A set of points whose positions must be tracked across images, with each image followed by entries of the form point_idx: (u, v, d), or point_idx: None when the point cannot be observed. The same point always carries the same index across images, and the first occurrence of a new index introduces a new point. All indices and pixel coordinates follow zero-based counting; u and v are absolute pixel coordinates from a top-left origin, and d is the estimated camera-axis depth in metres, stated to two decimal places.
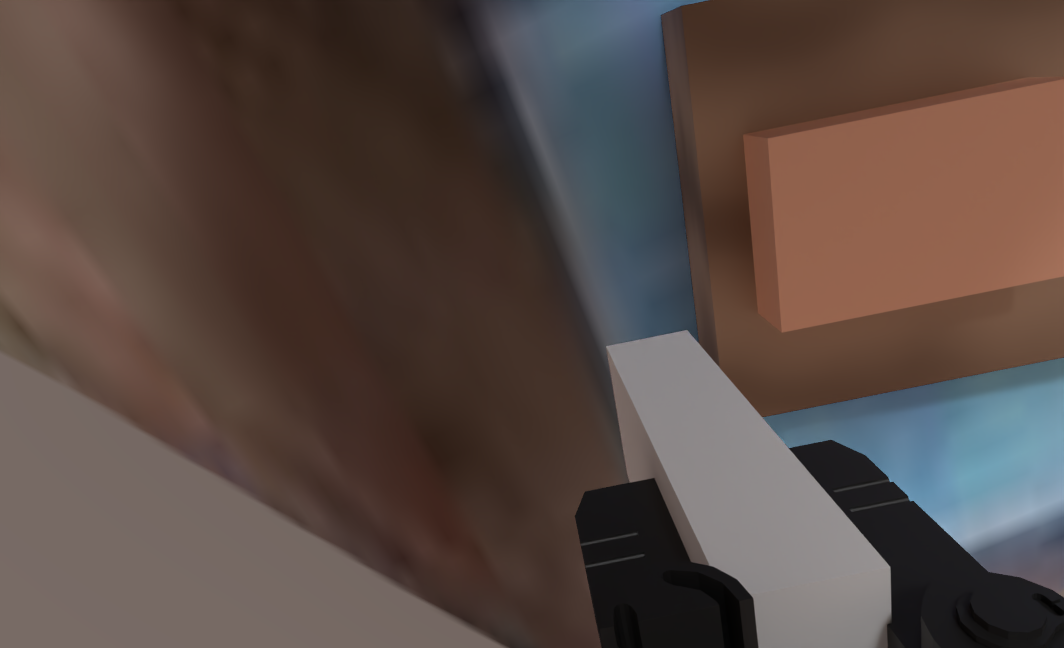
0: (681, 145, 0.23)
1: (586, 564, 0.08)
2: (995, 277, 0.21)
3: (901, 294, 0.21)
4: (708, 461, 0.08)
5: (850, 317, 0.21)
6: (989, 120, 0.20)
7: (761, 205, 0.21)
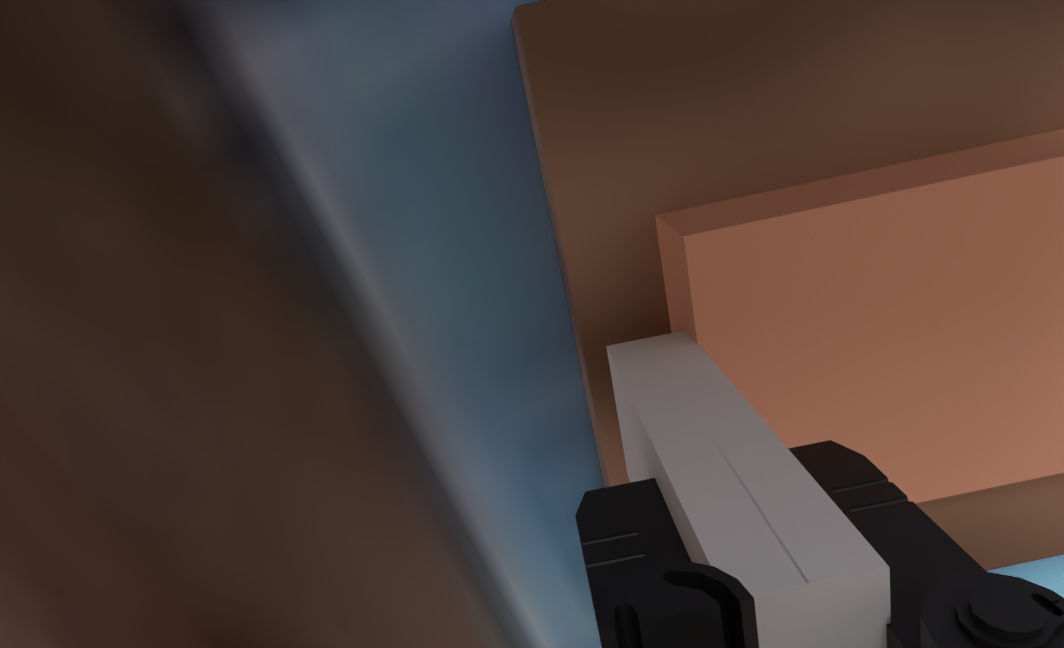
0: (554, 226, 0.15)
1: (586, 564, 0.08)
2: None
3: (921, 480, 0.13)
4: (708, 461, 0.08)
5: None
6: None
7: None
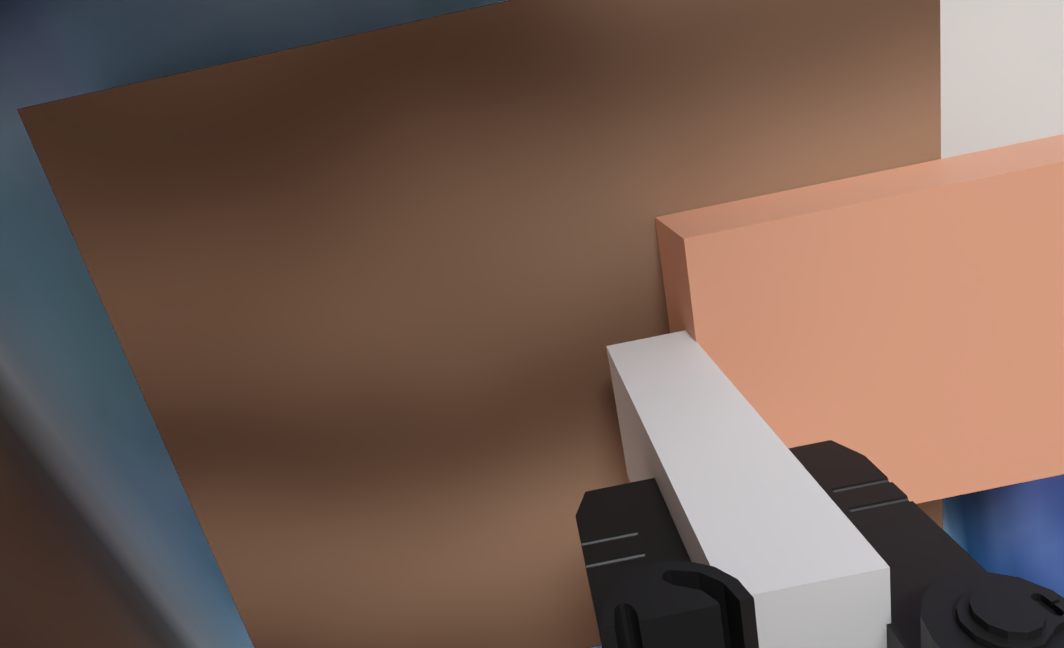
0: None
1: (586, 564, 0.08)
2: None
3: (917, 482, 0.13)
4: (708, 461, 0.08)
5: None
6: None
7: None
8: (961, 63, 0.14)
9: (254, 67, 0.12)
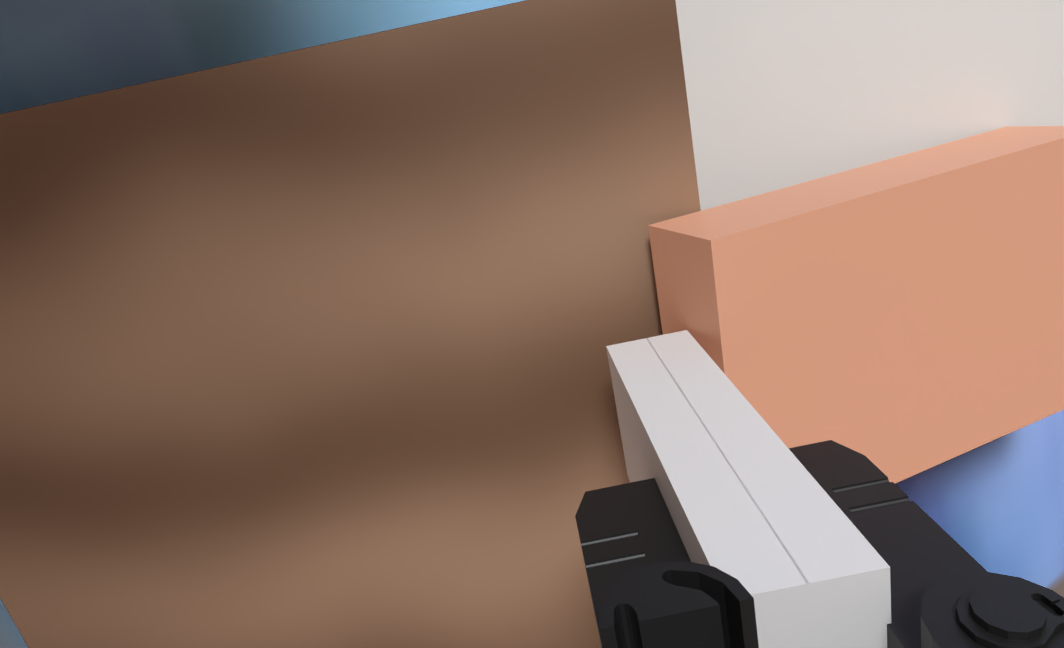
0: None
1: (586, 564, 0.08)
2: (1010, 415, 0.14)
3: (901, 460, 0.14)
4: (708, 461, 0.08)
5: None
6: (1007, 193, 0.13)
7: None
8: (748, 114, 0.15)
9: None
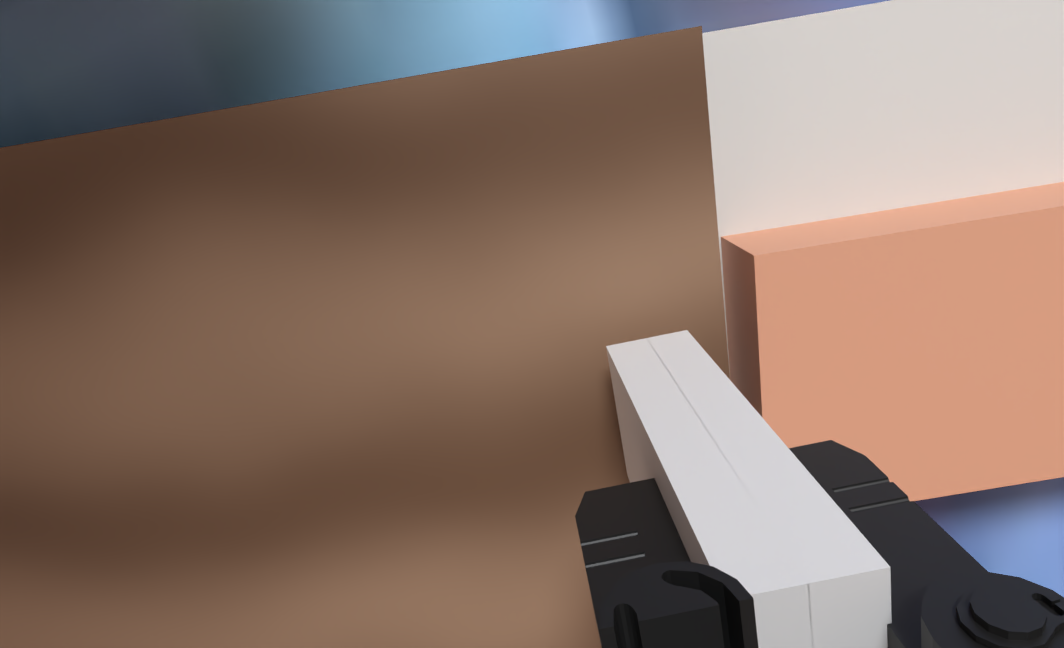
0: None
1: (586, 564, 0.08)
2: None
3: (942, 477, 0.15)
4: (708, 461, 0.08)
5: None
6: None
7: (743, 342, 0.14)
8: (770, 166, 0.14)
9: (6, 157, 0.11)
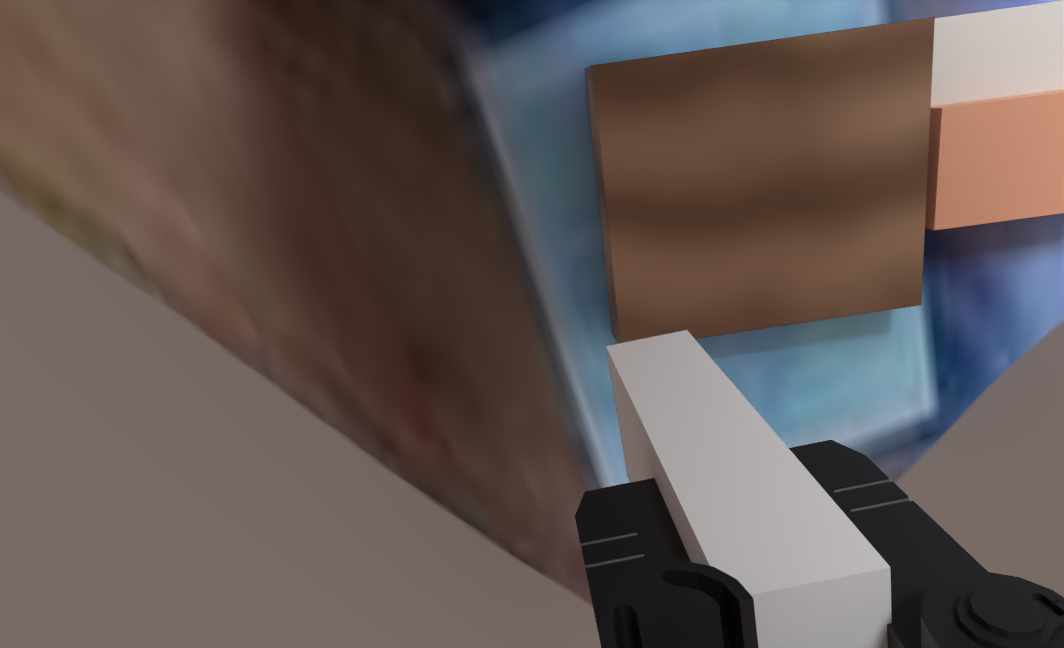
0: (596, 155, 0.34)
1: (586, 564, 0.08)
2: None
3: (1008, 211, 0.35)
4: (708, 461, 0.08)
5: (975, 224, 0.35)
6: None
7: None
8: (940, 78, 0.34)
9: (681, 56, 0.31)
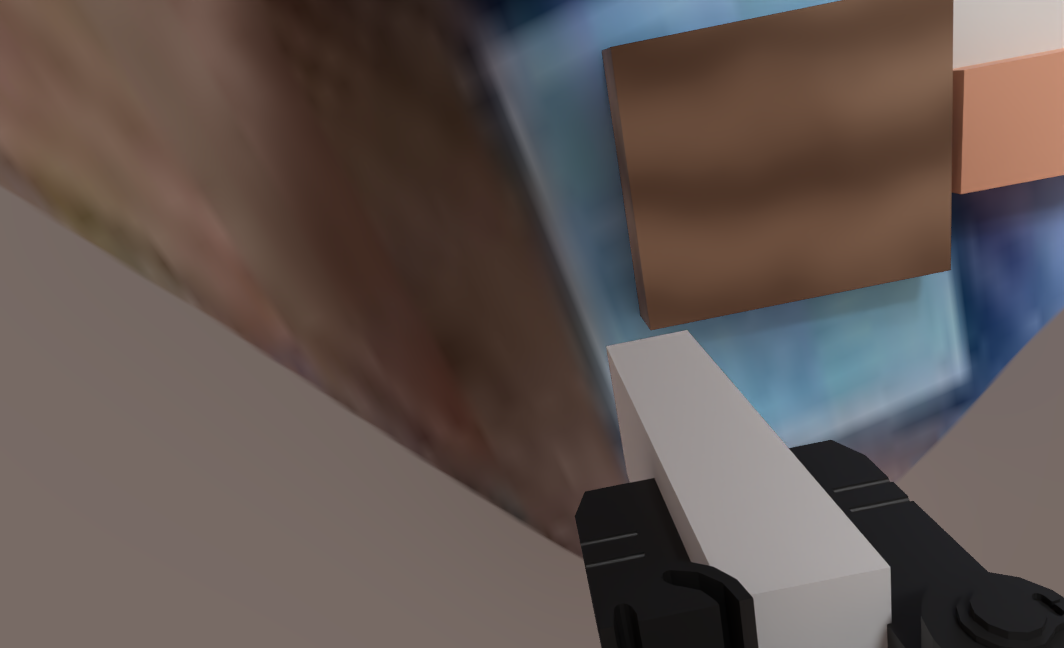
0: (616, 137, 0.34)
1: (586, 564, 0.08)
2: None
3: (1035, 170, 0.34)
4: (708, 461, 0.08)
5: None
6: None
7: None
8: (961, 39, 0.34)
9: (698, 33, 0.31)
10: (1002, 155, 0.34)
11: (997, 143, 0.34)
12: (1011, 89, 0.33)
